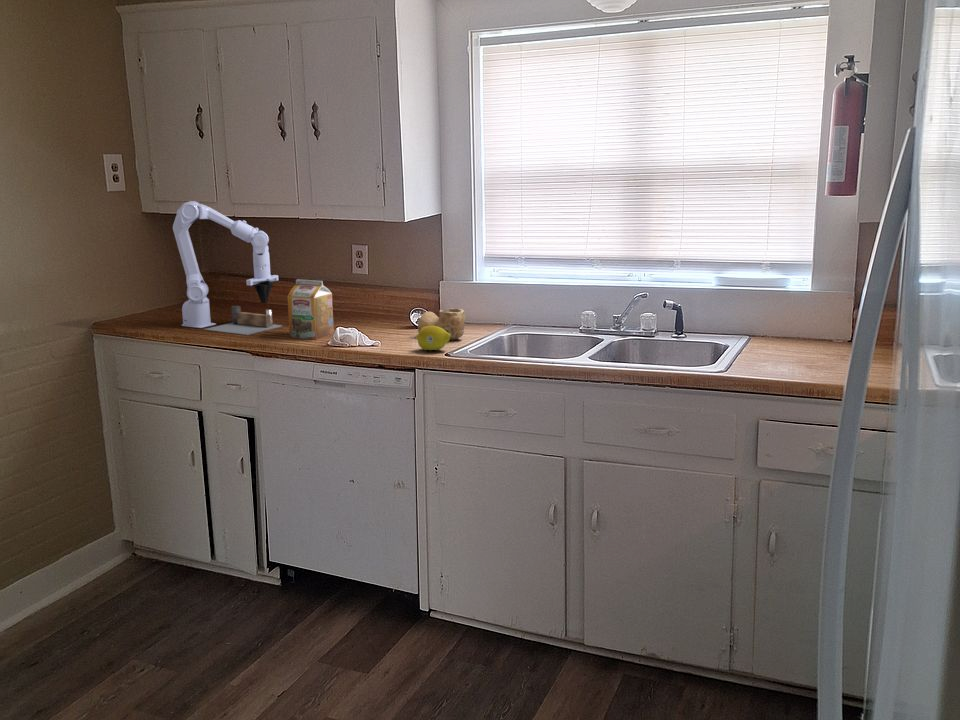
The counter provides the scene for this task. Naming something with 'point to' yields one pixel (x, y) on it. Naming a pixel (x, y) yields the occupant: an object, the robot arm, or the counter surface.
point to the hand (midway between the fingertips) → (264, 302)
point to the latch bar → (249, 318)
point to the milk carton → (310, 310)
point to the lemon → (432, 338)
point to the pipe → (445, 321)
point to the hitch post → (269, 312)
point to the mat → (241, 328)
